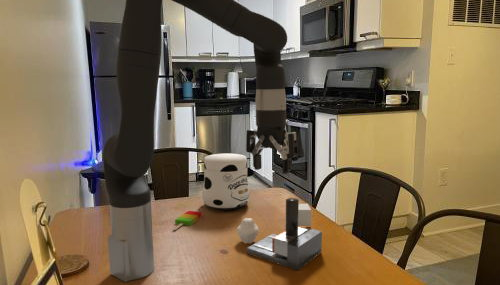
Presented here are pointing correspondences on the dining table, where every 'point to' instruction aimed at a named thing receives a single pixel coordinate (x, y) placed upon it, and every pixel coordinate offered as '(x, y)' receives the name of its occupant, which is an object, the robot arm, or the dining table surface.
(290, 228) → the sliding jaw
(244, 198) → the milk container
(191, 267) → the dining table surface
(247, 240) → the white rounded ridged piece
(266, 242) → the jaw track
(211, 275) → the dining table surface
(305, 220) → the white cube
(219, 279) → the dining table surface
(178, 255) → the dining table surface
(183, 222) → the popsicle
